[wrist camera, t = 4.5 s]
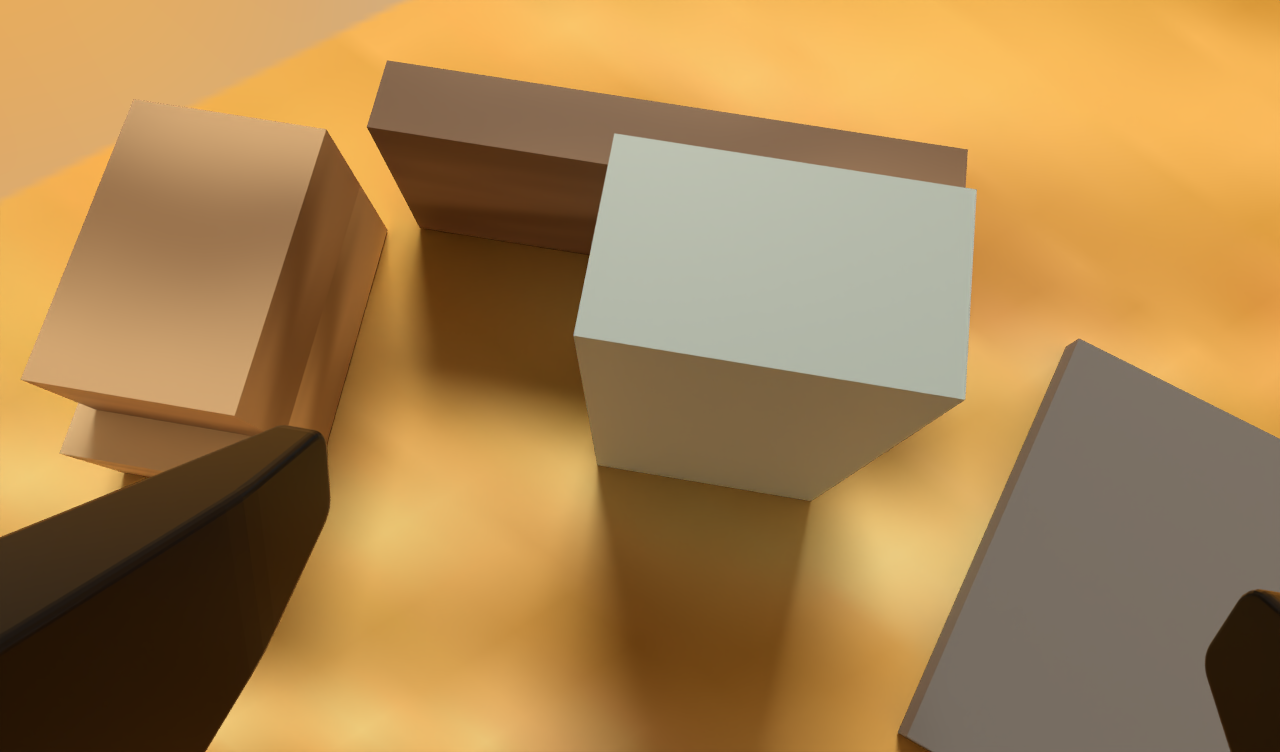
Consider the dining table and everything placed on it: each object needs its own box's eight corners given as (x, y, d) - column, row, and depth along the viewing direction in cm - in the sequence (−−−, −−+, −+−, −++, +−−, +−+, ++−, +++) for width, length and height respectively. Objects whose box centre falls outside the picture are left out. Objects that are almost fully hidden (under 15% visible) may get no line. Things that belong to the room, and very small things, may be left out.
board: (811, 501, 19) (965, 399, 10) (597, 465, 19) (573, 336, 10) (824, 378, 20) (976, 189, 11) (619, 344, 20) (614, 133, 11)
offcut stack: (309, 504, 19) (217, 470, 14) (122, 472, 19) (-23, 428, 15) (387, 229, 21) (326, 129, 16) (218, 202, 21) (114, 96, 17)
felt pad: (1358, 1002, 16) (1386, 1016, 16) (897, 733, 17) (907, 736, 17) (1475, 552, 19) (1502, 550, 18) (1065, 346, 20) (1079, 338, 20)
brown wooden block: (893, 303, 20) (963, 220, 16) (420, 227, 21) (366, 126, 17) (905, 169, 21) (972, 58, 17) (454, 99, 22) (413, -26, 18)
